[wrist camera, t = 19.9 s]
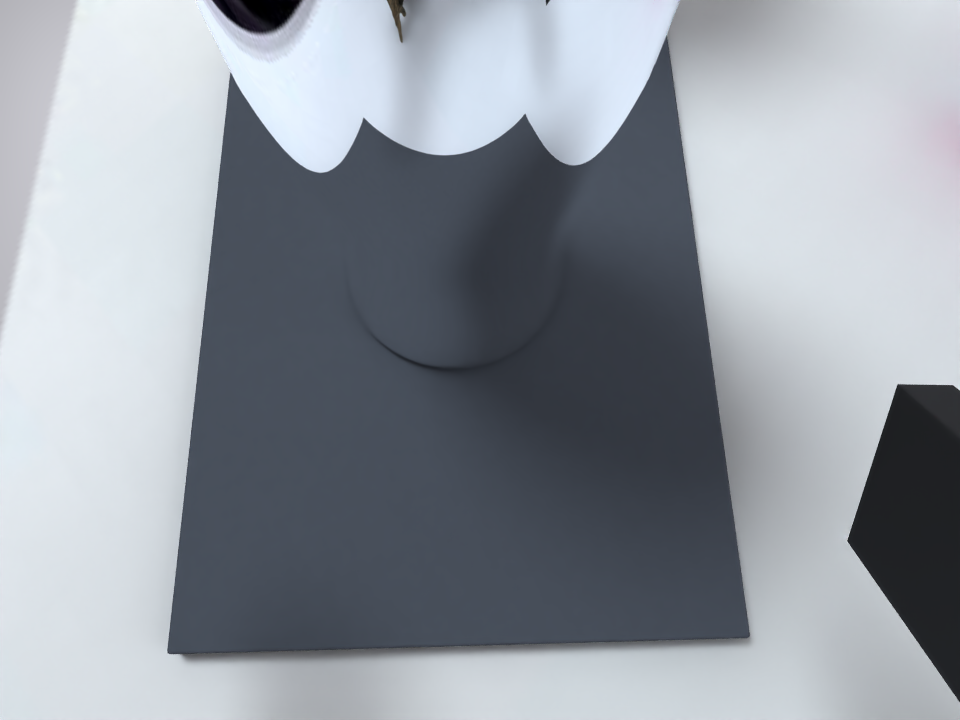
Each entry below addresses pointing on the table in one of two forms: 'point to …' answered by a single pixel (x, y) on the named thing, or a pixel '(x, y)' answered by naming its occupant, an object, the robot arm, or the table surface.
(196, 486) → the mat
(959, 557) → the robot arm
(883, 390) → the table surface
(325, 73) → the beer glass
